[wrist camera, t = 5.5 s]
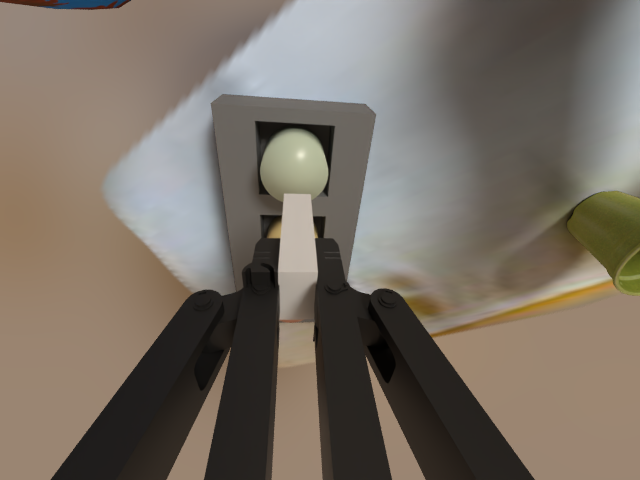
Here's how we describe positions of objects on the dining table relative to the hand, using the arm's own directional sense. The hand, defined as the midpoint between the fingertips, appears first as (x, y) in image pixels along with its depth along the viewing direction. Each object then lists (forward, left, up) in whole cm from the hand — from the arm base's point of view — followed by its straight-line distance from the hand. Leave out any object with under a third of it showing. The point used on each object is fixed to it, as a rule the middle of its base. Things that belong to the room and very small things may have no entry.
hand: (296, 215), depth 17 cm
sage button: (0, 0, -10) cm, 10 cm away
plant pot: (+6, +35, -12) cm, 37 cm away
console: (+8, 0, -12) cm, 14 cm away
